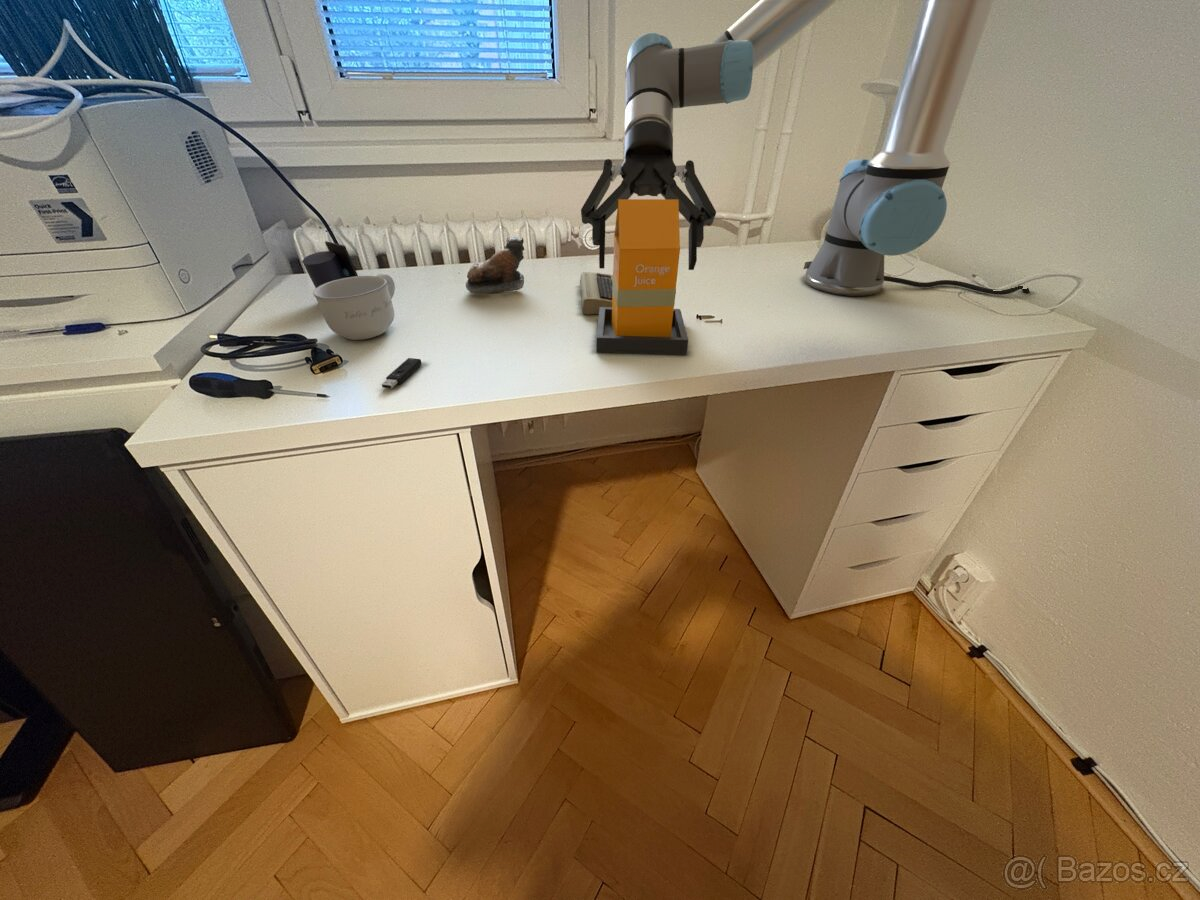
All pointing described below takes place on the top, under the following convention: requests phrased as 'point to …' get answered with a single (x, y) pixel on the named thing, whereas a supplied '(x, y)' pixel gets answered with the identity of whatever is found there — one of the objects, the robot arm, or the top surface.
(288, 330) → the top surface
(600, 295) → the computer
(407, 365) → the usb flash drive
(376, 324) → the teacup
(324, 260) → the speaker
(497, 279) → the bison figurine
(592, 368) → the top surface
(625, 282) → the orange juice
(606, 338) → the dark gray rectangular tray
